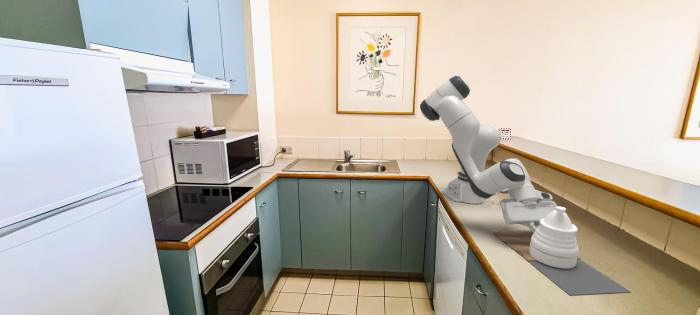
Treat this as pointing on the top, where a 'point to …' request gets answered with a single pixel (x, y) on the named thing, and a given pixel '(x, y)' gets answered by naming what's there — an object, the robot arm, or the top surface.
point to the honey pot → (555, 240)
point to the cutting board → (518, 242)
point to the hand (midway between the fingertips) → (540, 235)
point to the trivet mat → (580, 279)
